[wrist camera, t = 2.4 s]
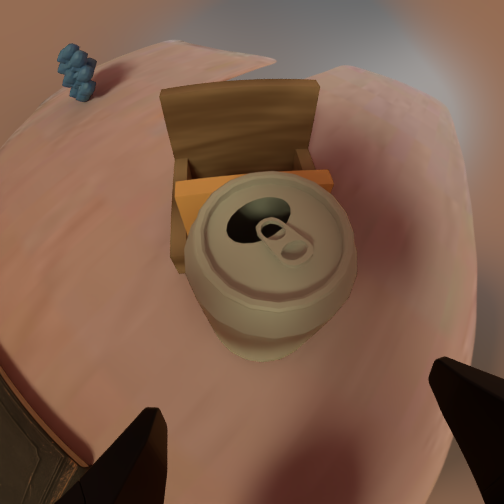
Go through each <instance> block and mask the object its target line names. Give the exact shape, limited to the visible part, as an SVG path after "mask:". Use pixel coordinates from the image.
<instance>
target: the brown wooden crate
mask: <svg viewBox="0 0 504 504" xmlns="http://www.w3.org/2000/svg"><path fill="white" fill-rule="evenodd" d="M319 90H320V86H319V84H318V83H317V81H316V80H306V79H255V80H236V81H223V82H212V83H203V84H194V85H187V86H180V87H174V88H168V89H162V90H161V93H160V96H159V97H160V102H161V106H162V110H163V114H164V118H165V123H166V127H167V131H168V135H169V139H170V143H171V147H172V151H173V154H174V158H175V164H174V177H173V192H172V210H171V237H170V258H171V260H172V262H173V263H174V265H175V267H176V269H177V271H178V273H179V274H182V273H185V255H184V248H185V244H186V241H187V238H188V235H187V232H186V229H185V226H184V224H183V221H182V218H181V215H180V212H179V209H178V206H177V203H176V200H175V182H177V181H184V180H192V179H200V178H209V177H219V176H229V175H240V174H249V173H255V172H265V171H277V172H280V171H300V170H316V169H315V166H314V164H313V161H312V158H311V156H310V153H309V150H308V146H309V141H310V136H311V131H312V126H313V121H314V116H315V111H316V106H317V101H318V95H319Z"/></svg>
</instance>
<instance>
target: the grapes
mask: <svg viewBox="0 0 504 504" xmlns="http://www.w3.org/2000/svg"><path fill="white" fill-rule="evenodd" d="M87 56H88V54H87V53H86V52H84V51H81V50H79V46H77V45H75V44H68V45H67V46H66V47H65V48H63V49H62V50H61V51H60V53H59V55H58V59H57V61H58V62H60V65H59V68H58V73H60V74H64V75H65V76H64V80H63V84H62V85H63V86H64V87H68V88H71V87H72V88H71V90H70V95H69V96H70V97H73V98H76V100H78V101H81V102H86V101H88V100H89V98H90V96H91V95H92V94H93V92H94V90H95V86H96V82H94V81H92V80H91V78H92V77H93V74H94V69H95V67H96V63H97V61H96V60H94V59H92V58H87Z"/></svg>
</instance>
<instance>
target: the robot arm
mask: <svg viewBox="0 0 504 504" xmlns="http://www.w3.org/2000/svg"><path fill="white" fill-rule="evenodd" d="M428 380H429V384H430V386H431V389H432V391H433V393H434V395H435V398H436V400H437V402H438V405H439V407H440V410H441V412H442V414H443V416H444V418H445V420H446V422H447V424H448V426H449V428H450V430H451V431H452V433H453V435H454V437H455V439H456V441H457V443H458V445H459V447H460V449H461V451H462V453H463V455H464V457H465V459H466V461H467V463H468V466H469V468H470V470H471V472H472V474H473V476H474V478H475V481H476V483H477V485H478V488H479V490H480V492H481V495H482V497H483V500H484V502H485V504H504V379H502V378H500V377H497V376H495V375H492V374H489V373H487V372H484V371H481V370H479V369H476V368H474V367H471V366H468V365H466V364H463V363H461V362H458V361H456V360H453V359H451V358H448V357H441V358H438V359H436V360H435V361H434V363H433V366H432V369H431V372H430V374H429V378H428ZM166 479H167V424H166V422H165V420H164V417H163V415H162V413H161V411H160V409H159V408H156V407H147V408H145V409H144V410H143V411H142V412H141V413H140V414H139V415H138V416H137V417H136V418H135V420H134V421H133V422H132V423H131V424H130V425H129V426H128V427H127V428H126V429H125V431H124V432H123V433H122V434H121V435H120V436H119V437H118V438H117V439H116V440H115V441H114V443H113V444H112V445H111V446H110V447H109V448H108V449H107V450H106V451H105V452H104V453H103V454H102V455H101V457H100V458H99V459H98V460H97V461H96V462H95V463H94V464H93V465H92V466H91V467H90V468H89V469H88V470H87V471H86V472H85V474H84V475H83V476H82V477H81V478H80V481H79V480H78V481H77V482H76V483H75V484H74V485H73V486H72V487H71V488H70V489H69V490H68V491H67V492H66V493H65V494H64V495H63V496H62V497H61V498H59V499H58V500H57V501H56V502H55V503H53V504H164V496H165V487H166Z"/></svg>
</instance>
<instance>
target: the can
mask: <svg viewBox="0 0 504 504" xmlns="http://www.w3.org/2000/svg"><path fill="white" fill-rule="evenodd" d="M184 255H185V273H186V276H187V278H188V281H189V283H190V285H191V288H192V290H193V292H194V294H195V297H196V299H197V301H198V303H199V304H200V306H201V308H202V310H203V312H204V314H205V315H206V317H207V319H208V321H209V323H210V324H211V326H212V328H213V330H214V331H215V333H216V335H217V337H218V338H219V340H220V341H221V342H222V343H223V344H224V345H225V346H226V347H227V348H228V349H229V350H230V351H231V352H232V353H234V354H236V355H238V356H240V357H242V358H244V359H246V360H251V361H258V362H268V361H274V360H280V359H282V358H284V357H285V356H287V355H289V354H291V353H293V352H295V351H296V350H297V349H298V348H299V347H300V346H302V345H303V344H304V343H305V342H306V341H307V340H308V339H310V338H311V337H312V336H313V335H314V334H315V333H316V332H317V331H318V330H319V329H321V328H322V327H323V326H324V325H325V324H326V323H327V322H328V321H329V320H330V319H331V318H332V317H333V316H334V315H335V314H336V312H337V311H338V310H339V309H340V308H341V306H342V305H343V304H344V303H345V302H346V300H347V299H348V298H349V295H350V293H351V290H352V287H353V284H354V281H355V279H356V276H357V249H356V246H355V243H354V231H353V229H352V226H351V223H350V221H349V218H348V216H347V213H346V211H345V210H344V209H343V208H342V206H341V205H340V204H339V202H338V201H337V200H336V199H335V197H334V196H333V195H332V194H330V193H329V192H328V191H326V190H325V189H324V188H322V187H321V186H319V185H318V184H317V183H315V182H313V181H311V180H308V179H306V178H303V177H301V176H298V175H296V174H291V173H284V172H277V171H265V172H255V173H249V174H246V175H243V176H240V177H238V178H235V179H232V180H230V181H228V182H227V183H225V184H224V185H223V186H221V187H220V188H218V189H217V190H216V191H214V192H213V193H212V194H211V195H210V196H209V198H208V199H207V200H206V202H205V203H204V204H203V206H202V207H201V208H200V210H199V212H198V216H197V218H196V220H195V221H194V223H193V224H192V225H191V228H190V231H189V234H188V238H187V241H186V244H185V248H184Z"/></svg>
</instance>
